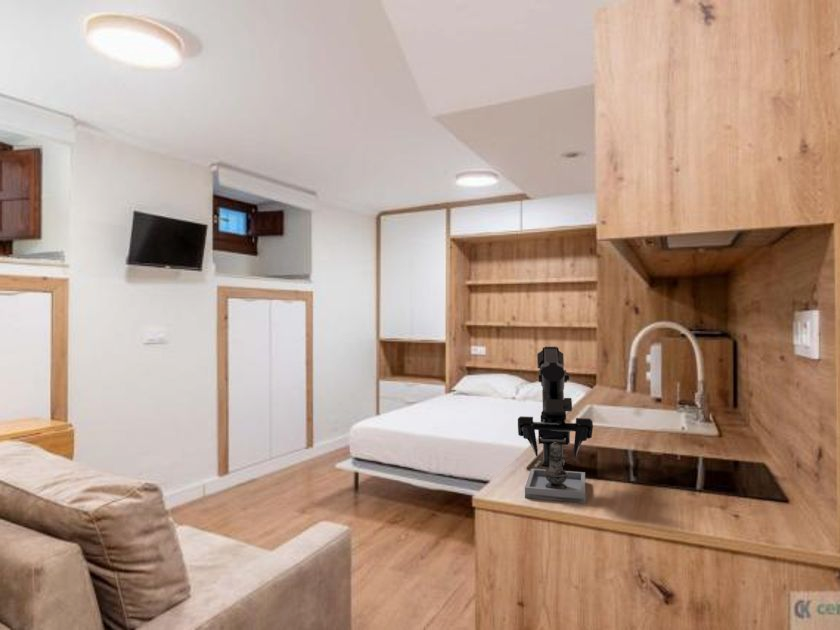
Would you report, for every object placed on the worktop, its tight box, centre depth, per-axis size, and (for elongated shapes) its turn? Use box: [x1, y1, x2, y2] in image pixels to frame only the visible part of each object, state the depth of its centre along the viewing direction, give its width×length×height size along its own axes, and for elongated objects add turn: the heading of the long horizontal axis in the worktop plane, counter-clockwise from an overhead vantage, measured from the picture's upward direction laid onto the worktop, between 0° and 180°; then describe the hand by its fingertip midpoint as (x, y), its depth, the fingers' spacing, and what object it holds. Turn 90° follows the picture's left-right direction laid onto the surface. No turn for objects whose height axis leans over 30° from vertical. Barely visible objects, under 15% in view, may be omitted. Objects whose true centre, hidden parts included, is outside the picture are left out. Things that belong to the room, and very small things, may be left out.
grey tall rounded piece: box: [544, 439, 568, 490], centre depth 128 cm, size 6×6×12 cm
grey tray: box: [524, 468, 586, 504], centre depth 129 cm, size 16×14×2 cm
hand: (555, 456), depth 127 cm, fingers open, 9 cm apart
